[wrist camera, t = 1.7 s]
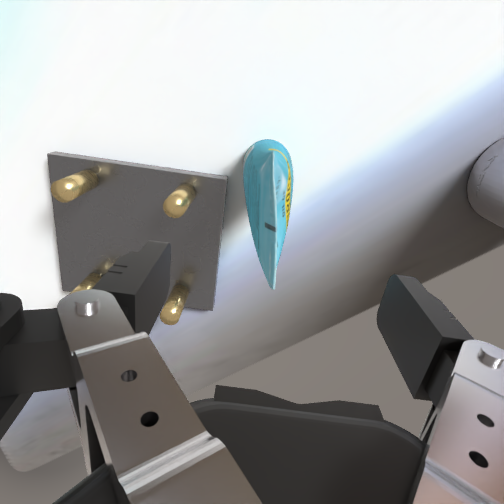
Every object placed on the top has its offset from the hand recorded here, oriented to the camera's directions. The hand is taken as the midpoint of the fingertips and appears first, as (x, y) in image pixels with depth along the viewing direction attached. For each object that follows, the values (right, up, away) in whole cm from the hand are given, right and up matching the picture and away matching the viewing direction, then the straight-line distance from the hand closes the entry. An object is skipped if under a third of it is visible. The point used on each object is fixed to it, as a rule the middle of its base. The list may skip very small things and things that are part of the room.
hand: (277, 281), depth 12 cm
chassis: (-13, +3, +26) cm, 30 cm away
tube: (+1, +10, +23) cm, 25 cm away
